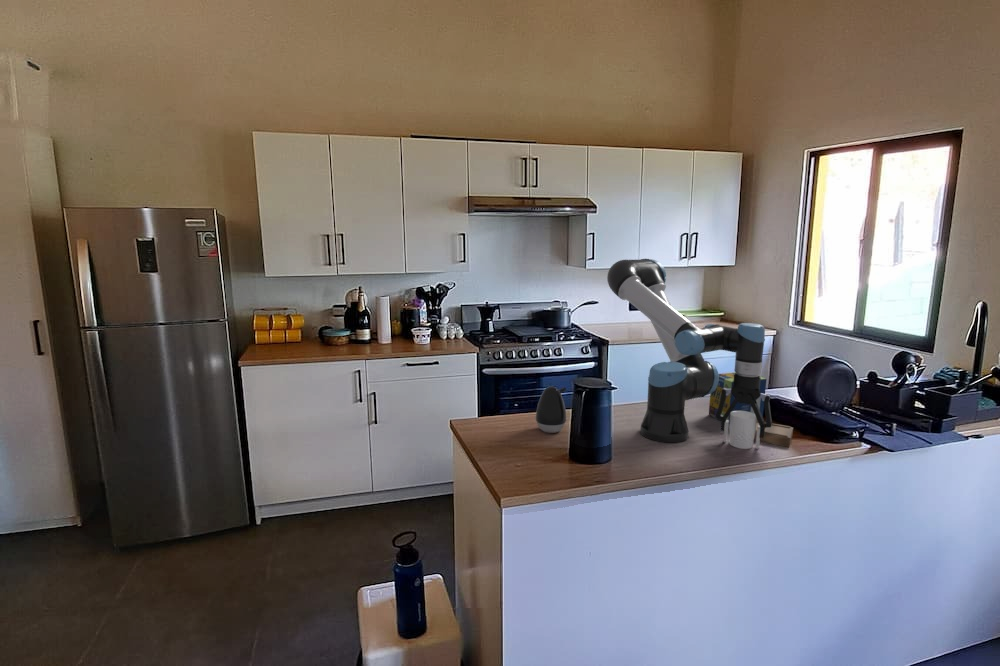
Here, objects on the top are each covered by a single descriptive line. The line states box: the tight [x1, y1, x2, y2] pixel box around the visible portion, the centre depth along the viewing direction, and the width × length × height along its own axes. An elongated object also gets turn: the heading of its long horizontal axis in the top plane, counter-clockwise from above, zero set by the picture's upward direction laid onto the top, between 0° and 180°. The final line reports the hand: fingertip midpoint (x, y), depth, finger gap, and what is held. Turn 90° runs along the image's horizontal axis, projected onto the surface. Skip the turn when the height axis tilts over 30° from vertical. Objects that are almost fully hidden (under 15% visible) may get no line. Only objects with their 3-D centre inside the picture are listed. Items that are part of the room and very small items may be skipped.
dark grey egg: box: [535, 385, 567, 434], centre depth 182 cm, size 10×10×15 cm
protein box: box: [708, 371, 767, 425], centre depth 196 cm, size 10×15×16 cm
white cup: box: [728, 411, 757, 450], centre depth 171 cm, size 8×8×10 cm
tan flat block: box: [754, 421, 794, 448], centre depth 178 cm, size 14×11×3 cm
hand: (741, 443), depth 172 cm, fingers open, 9 cm apart
